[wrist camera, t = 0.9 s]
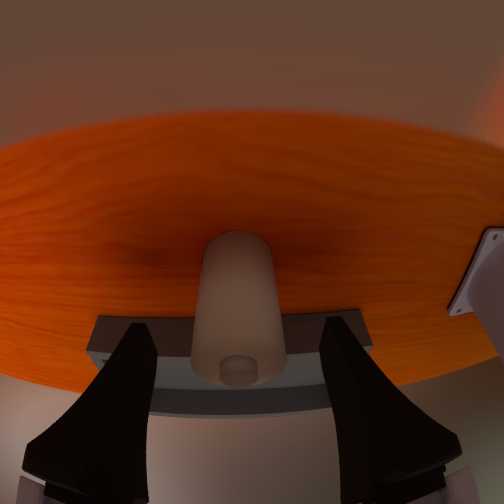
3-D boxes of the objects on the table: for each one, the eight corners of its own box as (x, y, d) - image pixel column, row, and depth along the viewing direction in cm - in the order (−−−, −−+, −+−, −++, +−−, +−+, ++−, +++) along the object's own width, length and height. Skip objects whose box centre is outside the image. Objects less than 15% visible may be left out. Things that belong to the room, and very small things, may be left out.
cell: (273, 229, 15) (293, 348, 9) (271, 284, 17) (284, 396, 11) (199, 232, 15) (179, 351, 9) (207, 286, 17) (197, 399, 11)
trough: (359, 309, 19) (373, 345, 16) (332, 380, 24) (338, 409, 22) (98, 316, 18) (85, 350, 16) (138, 384, 24) (132, 413, 21)
